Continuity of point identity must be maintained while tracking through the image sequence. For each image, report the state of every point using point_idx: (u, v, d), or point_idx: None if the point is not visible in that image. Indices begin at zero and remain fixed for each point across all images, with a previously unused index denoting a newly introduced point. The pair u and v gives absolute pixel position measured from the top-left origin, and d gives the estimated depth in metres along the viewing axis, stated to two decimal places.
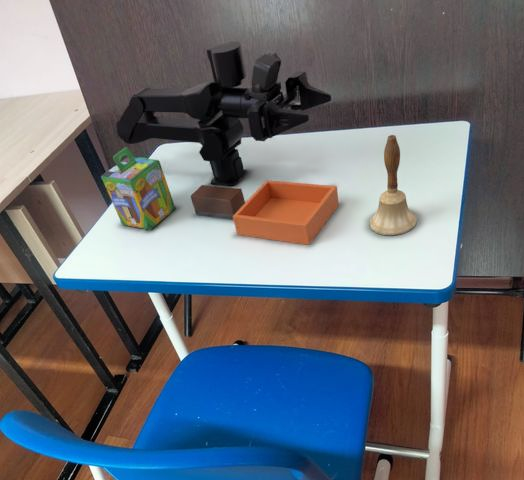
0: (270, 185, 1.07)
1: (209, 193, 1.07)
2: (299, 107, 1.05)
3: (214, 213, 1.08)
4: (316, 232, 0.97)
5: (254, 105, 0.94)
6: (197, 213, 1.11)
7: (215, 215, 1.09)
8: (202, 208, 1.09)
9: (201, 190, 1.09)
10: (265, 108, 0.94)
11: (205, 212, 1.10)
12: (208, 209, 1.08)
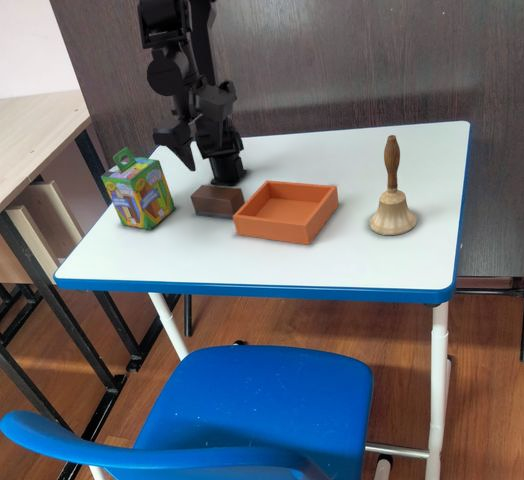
0: (270, 185, 1.07)
1: (209, 193, 1.07)
2: None
3: (214, 213, 1.08)
4: (316, 232, 0.97)
5: (181, 135, 0.90)
6: (197, 213, 1.11)
7: (215, 215, 1.09)
8: (202, 208, 1.09)
9: (201, 190, 1.09)
10: (183, 145, 0.92)
11: (205, 212, 1.10)
12: (208, 209, 1.08)
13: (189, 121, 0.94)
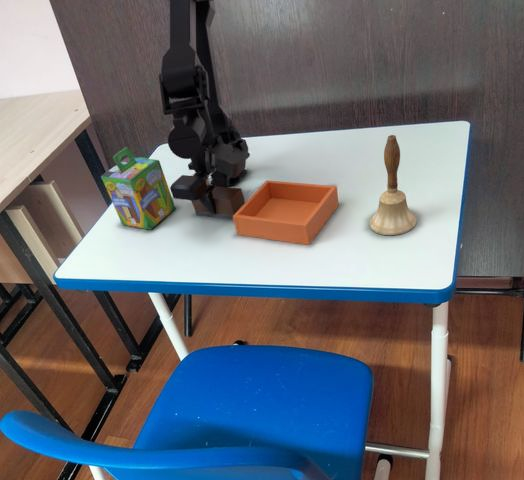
0: (270, 185, 1.07)
1: None
2: None
3: None
4: (316, 232, 0.97)
5: (198, 191, 0.98)
6: (197, 213, 1.11)
7: (215, 215, 1.09)
8: (202, 208, 1.09)
9: None
10: (206, 193, 1.01)
11: (205, 212, 1.10)
12: None
13: None
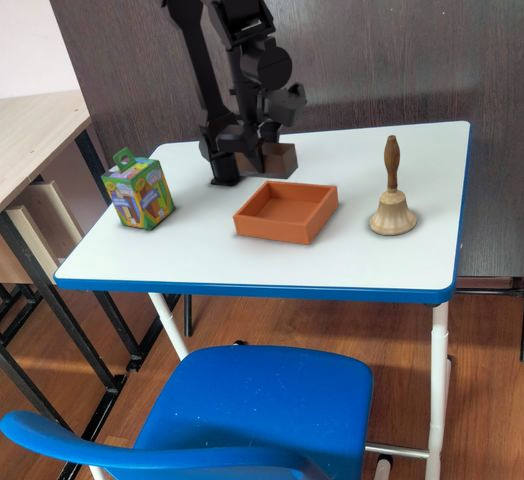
0: (270, 185, 1.07)
1: None
2: None
3: None
4: (316, 232, 0.97)
5: (249, 142, 0.84)
6: (241, 173, 0.97)
7: (263, 175, 0.95)
8: (248, 167, 0.96)
9: None
10: (257, 146, 0.87)
11: (251, 171, 0.96)
12: None
13: None
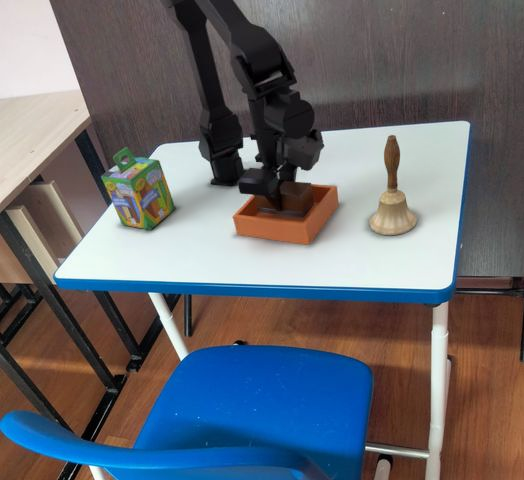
0: None
1: None
2: None
3: None
4: (316, 232, 0.97)
5: (270, 185, 0.89)
6: (259, 210, 1.02)
7: (280, 212, 1.00)
8: (266, 204, 1.00)
9: None
10: (276, 188, 0.92)
11: (268, 208, 1.00)
12: None
13: None
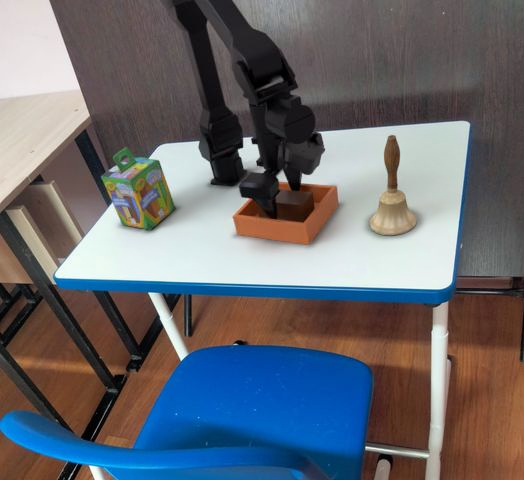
0: None
1: (277, 198, 0.99)
2: None
3: (281, 218, 1.00)
4: (316, 232, 0.97)
5: (271, 190, 0.89)
6: None
7: None
8: None
9: None
10: (271, 199, 0.91)
11: None
12: None
13: (276, 173, 0.93)
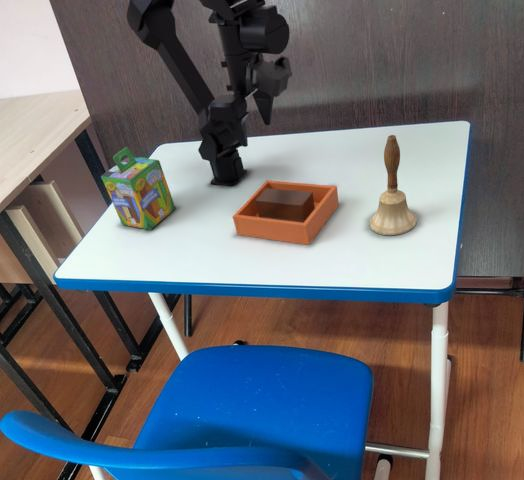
0: (270, 185, 1.07)
1: (277, 198, 0.99)
2: None
3: (281, 218, 1.00)
4: (316, 232, 0.97)
5: (238, 109, 0.93)
6: None
7: None
8: (268, 213, 1.01)
9: (267, 193, 1.01)
10: (239, 120, 0.95)
11: (270, 217, 1.02)
12: (275, 214, 1.01)
13: (244, 96, 0.96)
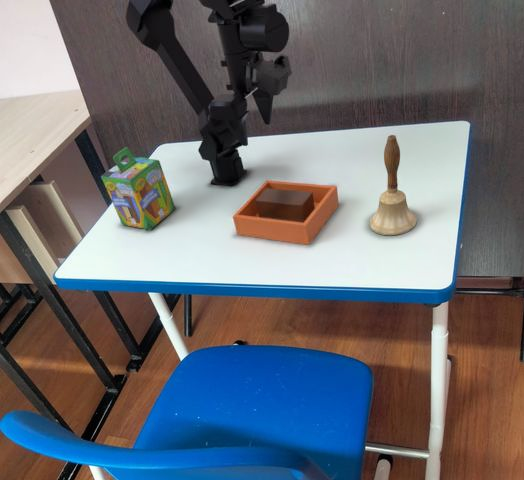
0: (270, 185, 1.07)
1: (277, 198, 0.99)
2: None
3: (281, 218, 1.00)
4: (316, 232, 0.97)
5: (239, 108, 0.93)
6: None
7: None
8: (268, 213, 1.01)
9: (267, 193, 1.01)
10: (240, 119, 0.95)
11: (270, 217, 1.02)
12: (275, 214, 1.01)
13: (244, 95, 0.96)
